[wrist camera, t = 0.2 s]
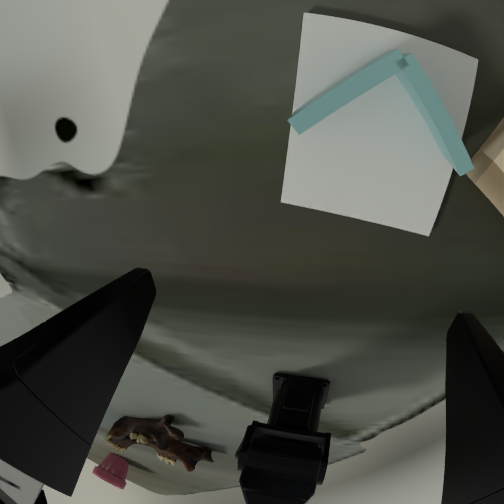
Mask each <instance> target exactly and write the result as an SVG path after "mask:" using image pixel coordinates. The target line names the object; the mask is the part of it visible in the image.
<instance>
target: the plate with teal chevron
mask: <svg viewBox="0 0 504 504" xmlns="http://www.w3.org/2000/svg"><path fill="white" fill-rule="evenodd" d="M477 66H478V59H476V58H473V57H471V56H469V55H466V54H464V53H461V52H459V51H456V50H454V49H451V48H449V47H446V46H443V45H440V44H438V43H435V42H432V41H429V40H426V39H423V38H420V37H417V36H413V35H410V34H407V33H403V32H400V31H396V30H393V29H389V28H385V27H381V26H377V25H373V24H368V23H364V22H359V21H354V20H349V19H344V18H338V17H332V16H326V15H319V14H312V13H304V16H303V25H302V35H301V44H300V53H299V62H298V70H297V79H296V88H295V96H294V104H293V112H292V115H291V116H290V118H289V119H288V122H289V123H290V124H291V128H290V136H289V144H288V152H287V160H286V167H285V175H284V182H283V190H282V197H281V202H283V203H287V204H292V205H297V206H302V207H307V208H312V209H316V210H321V211H326V212H330V213H335V214H339V215H344V216H348V217H353V218H357V219H361V220H366V221H370V222H374V223H378V224H382V225H386V226H391V227H395V228H399V229H403V230H407V231H411V232H414V233H418V234H422V235H426V236H429V235H430V232H431V230H432V227H433V224H434V222H435V219H436V217H437V214H438V211H439V208H440V206H441V203H442V200H443V197H444V194H445V192H446V189H447V186H448V183H449V180H450V176H451V173H452V170H453V168H454V169H455V171H456V172H457V173H458V174H459V175H460V176H462V175H464V174H466V173H467V172H469V171H471V170H473V169H474V166H473V164H472V162H471V159H470V157H469V155H468V153H467V150H466V148H465V146H464V144H463V142H462V140H461V139H462V136H463V132H464V128H465V124H466V120H467V116H468V111H469V107H470V103H471V98H472V93H473V88H474V83H475V77H476V72H477Z"/></svg>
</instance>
